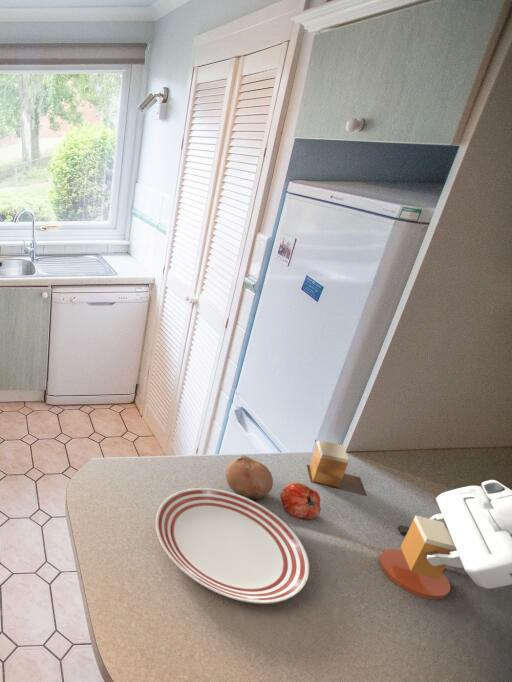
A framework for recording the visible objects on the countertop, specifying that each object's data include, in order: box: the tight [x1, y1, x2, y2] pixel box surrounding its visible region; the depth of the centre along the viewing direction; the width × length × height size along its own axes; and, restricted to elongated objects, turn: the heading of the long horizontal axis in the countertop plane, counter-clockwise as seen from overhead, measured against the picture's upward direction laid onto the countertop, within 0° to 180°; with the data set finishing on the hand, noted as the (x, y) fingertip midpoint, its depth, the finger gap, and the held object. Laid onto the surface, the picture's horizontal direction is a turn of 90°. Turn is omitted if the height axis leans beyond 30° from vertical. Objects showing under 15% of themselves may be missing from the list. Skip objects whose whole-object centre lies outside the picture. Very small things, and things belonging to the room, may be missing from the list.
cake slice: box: [400, 515, 456, 579], centre depth 82 cm, size 4×6×8 cm, turn 155°
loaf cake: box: [306, 439, 368, 497], centre depth 106 cm, size 11×7×9 cm, turn 65°
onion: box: [225, 454, 274, 501], centre depth 103 cm, size 10×9×10 cm
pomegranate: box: [279, 482, 322, 520], centre depth 98 cm, size 7×7×10 cm
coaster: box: [378, 548, 451, 600], centre depth 85 cm, size 10×10×1 cm
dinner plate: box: [155, 487, 310, 605], centre depth 90 cm, size 28×27×3 cm
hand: (423, 544), depth 82 cm, fingers closed on cake slice, 6 cm apart
